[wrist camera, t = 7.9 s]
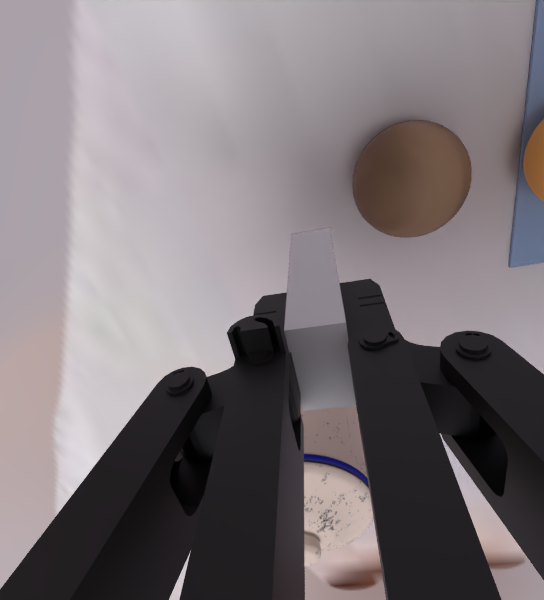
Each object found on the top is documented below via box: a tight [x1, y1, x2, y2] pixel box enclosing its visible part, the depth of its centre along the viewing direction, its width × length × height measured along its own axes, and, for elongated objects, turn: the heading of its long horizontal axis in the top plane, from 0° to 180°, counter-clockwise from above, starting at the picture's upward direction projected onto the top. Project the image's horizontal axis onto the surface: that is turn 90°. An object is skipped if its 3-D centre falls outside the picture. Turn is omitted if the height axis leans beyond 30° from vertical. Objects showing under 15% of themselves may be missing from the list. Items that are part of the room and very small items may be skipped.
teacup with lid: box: [300, 404, 374, 567], centre depth 27 cm, size 12×9×12 cm
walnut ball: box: [353, 120, 471, 237], centre depth 19 cm, size 6×6×6 cm
